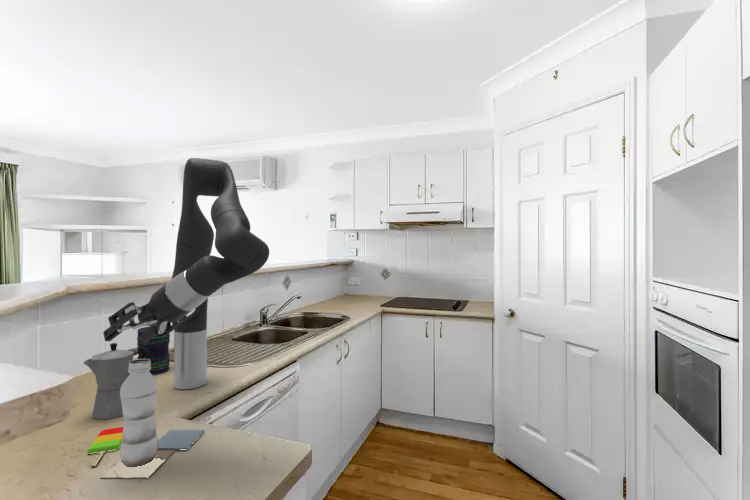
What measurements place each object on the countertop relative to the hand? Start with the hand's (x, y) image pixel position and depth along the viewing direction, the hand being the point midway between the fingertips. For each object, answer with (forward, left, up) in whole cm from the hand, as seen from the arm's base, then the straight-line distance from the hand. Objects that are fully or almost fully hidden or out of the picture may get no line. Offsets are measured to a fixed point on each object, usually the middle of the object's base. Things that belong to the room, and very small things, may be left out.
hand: (125, 338), depth 79 cm
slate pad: (-4, +9, -24) cm, 26 cm away
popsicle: (-1, -5, -25) cm, 25 cm away
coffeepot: (-20, -15, -24) cm, 34 cm away
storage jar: (-52, -24, -24) cm, 62 cm away
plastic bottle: (+5, +6, -23) cm, 25 cm away
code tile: (+5, +6, -24) cm, 25 cm away
